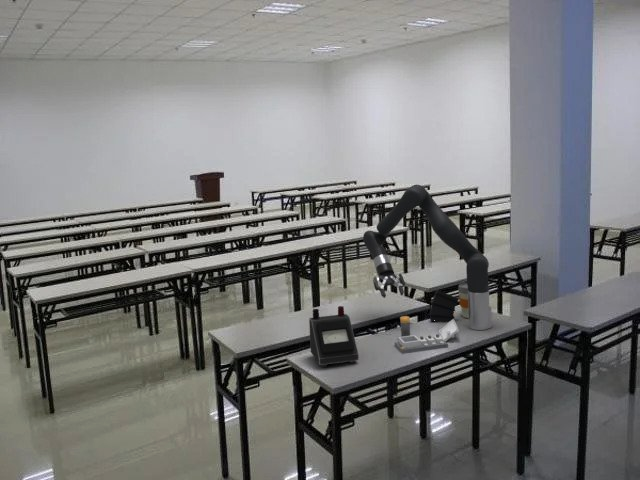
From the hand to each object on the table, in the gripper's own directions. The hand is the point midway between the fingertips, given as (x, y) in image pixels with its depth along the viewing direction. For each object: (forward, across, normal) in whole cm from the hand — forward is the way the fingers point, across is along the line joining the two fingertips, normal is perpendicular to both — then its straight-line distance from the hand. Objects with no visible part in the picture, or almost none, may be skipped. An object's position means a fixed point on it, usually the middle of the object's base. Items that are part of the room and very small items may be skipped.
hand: (393, 295), depth 267 cm
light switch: (+24, +18, 0) cm, 30 cm away
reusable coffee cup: (+9, +42, +15) cm, 45 cm away
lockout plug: (+20, 0, +4) cm, 21 cm away
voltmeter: (+28, -36, -3) cm, 45 cm away
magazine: (+9, +27, +15) cm, 32 cm away
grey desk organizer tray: (+28, +2, -4) cm, 29 cm away
